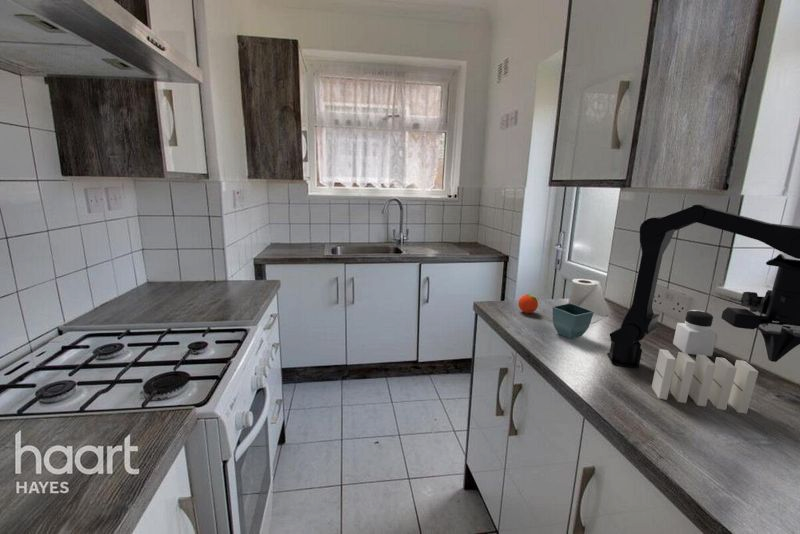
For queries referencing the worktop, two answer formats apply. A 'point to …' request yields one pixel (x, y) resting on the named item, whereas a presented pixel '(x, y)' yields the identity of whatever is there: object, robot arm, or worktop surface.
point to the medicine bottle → (696, 334)
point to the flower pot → (571, 320)
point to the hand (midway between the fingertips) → (772, 360)
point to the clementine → (528, 303)
